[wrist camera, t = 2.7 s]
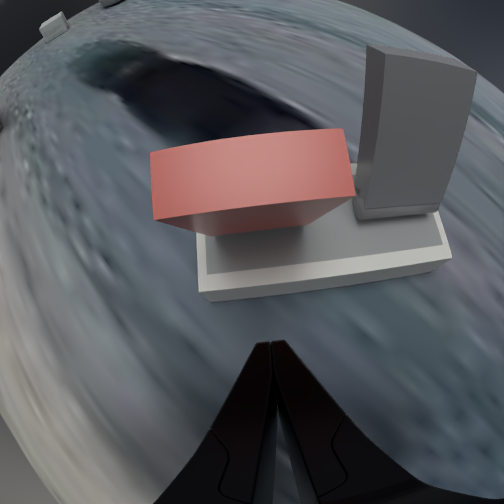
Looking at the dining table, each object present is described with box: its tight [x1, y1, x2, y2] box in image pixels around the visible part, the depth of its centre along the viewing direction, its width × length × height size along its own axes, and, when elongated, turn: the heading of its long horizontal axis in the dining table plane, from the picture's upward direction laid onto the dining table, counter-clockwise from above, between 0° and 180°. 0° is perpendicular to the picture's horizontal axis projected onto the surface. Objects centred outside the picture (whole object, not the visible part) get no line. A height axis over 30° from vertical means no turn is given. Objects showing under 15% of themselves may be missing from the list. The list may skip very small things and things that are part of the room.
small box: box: [40, 12, 69, 43], centre depth 38 cm, size 6×6×5 cm
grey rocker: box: [353, 45, 477, 220], centre depth 12 cm, size 2×5×9 cm, turn 95°
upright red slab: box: [150, 129, 356, 237], centre depth 12 cm, size 2×5×9 cm, turn 95°
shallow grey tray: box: [197, 163, 452, 302], centre depth 18 cm, size 7×15×3 cm, turn 96°
